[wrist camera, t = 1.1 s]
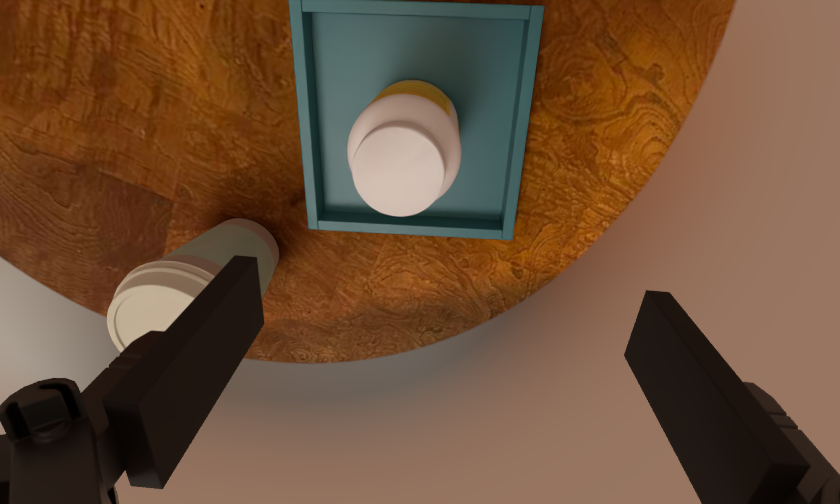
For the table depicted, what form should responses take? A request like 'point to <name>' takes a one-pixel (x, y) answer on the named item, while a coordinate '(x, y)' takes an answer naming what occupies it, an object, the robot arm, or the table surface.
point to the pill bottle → (405, 148)
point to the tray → (430, 61)
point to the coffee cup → (185, 278)
